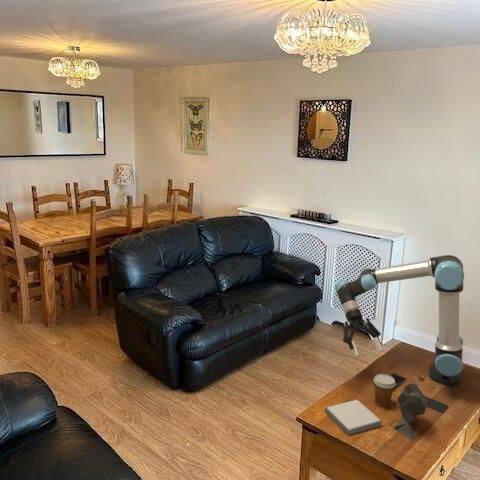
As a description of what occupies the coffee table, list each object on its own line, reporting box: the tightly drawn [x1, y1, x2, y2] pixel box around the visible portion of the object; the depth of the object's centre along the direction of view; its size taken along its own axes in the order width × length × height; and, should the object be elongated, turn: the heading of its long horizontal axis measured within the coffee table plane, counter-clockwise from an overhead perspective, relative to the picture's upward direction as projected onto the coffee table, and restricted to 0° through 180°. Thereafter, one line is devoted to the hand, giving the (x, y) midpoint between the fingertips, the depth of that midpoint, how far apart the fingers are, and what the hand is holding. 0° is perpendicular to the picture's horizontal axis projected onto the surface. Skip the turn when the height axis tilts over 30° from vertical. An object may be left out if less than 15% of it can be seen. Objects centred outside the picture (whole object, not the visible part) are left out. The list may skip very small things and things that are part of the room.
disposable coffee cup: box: [373, 373, 396, 407], centre depth 213 cm, size 10×10×12 cm
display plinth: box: [324, 399, 383, 436], centre depth 202 cm, size 17×17×2 cm
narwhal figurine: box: [394, 383, 428, 441], centre depth 197 cm, size 14×15×18 cm
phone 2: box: [388, 373, 407, 391], centre depth 231 cm, size 8×1×15 cm
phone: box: [424, 395, 449, 414], centre depth 215 cm, size 7×1×15 cm
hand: (368, 353), depth 220 cm, fingers open, 13 cm apart
